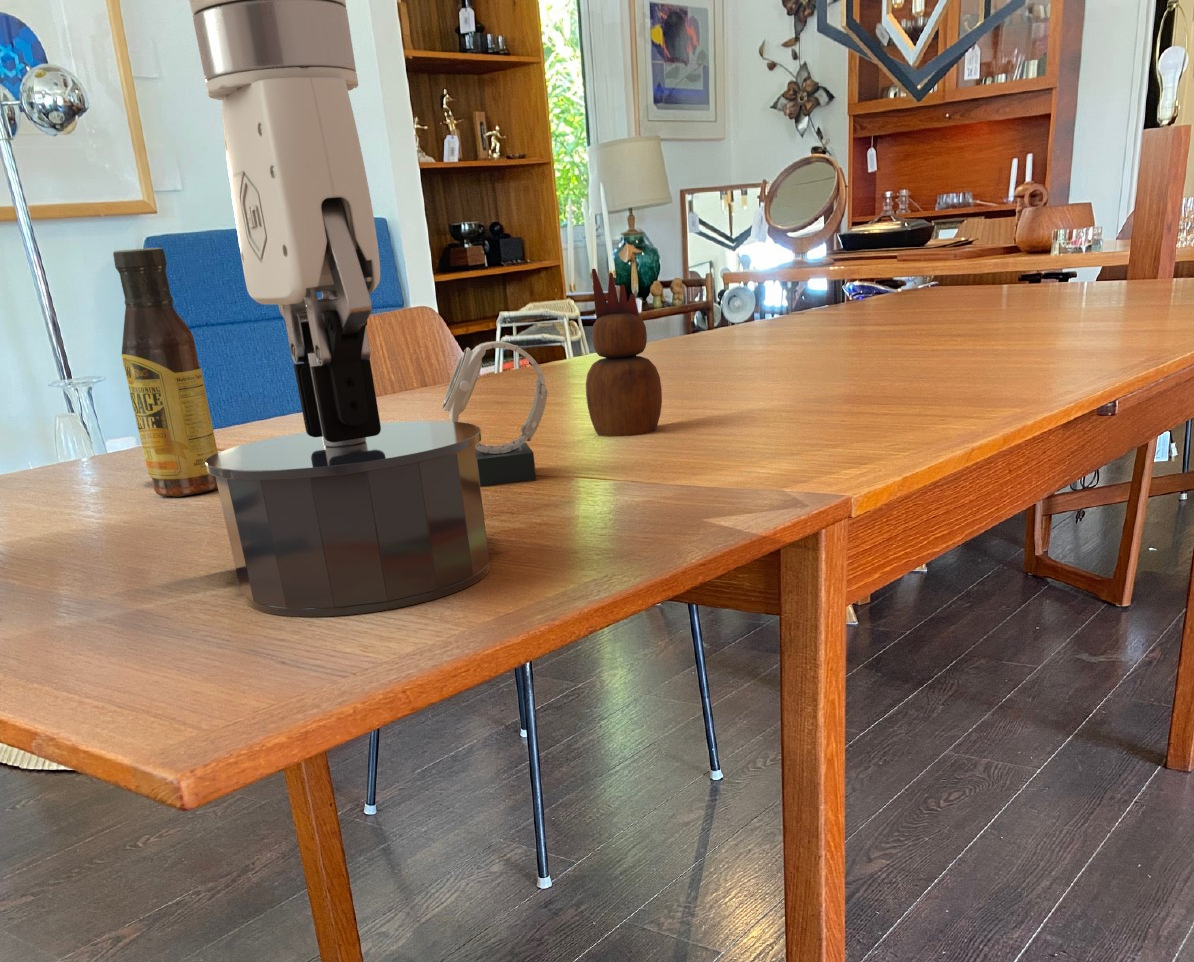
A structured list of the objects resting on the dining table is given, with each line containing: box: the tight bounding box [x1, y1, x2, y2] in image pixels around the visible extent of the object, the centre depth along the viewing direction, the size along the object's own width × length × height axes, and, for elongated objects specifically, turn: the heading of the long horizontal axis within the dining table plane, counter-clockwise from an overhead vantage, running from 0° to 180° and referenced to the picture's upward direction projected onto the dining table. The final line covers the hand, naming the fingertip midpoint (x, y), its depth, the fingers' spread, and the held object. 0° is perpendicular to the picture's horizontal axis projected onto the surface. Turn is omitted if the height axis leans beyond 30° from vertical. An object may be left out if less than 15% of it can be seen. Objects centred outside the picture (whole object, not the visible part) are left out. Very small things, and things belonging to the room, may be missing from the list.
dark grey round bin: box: [215, 445, 491, 618], centre depth 68 cm, size 15×15×8 cm
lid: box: [205, 351, 483, 480], centre depth 66 cm, size 16×16×6 cm
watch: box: [442, 340, 548, 488], centre depth 90 cm, size 6×8×11 cm
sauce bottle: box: [112, 247, 219, 498], centre depth 100 cm, size 6×6×20 cm
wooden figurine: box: [585, 268, 663, 437], centre depth 105 cm, size 7×6×15 cm
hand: (343, 433), depth 66 cm, fingers closed on lid, 2 cm apart
